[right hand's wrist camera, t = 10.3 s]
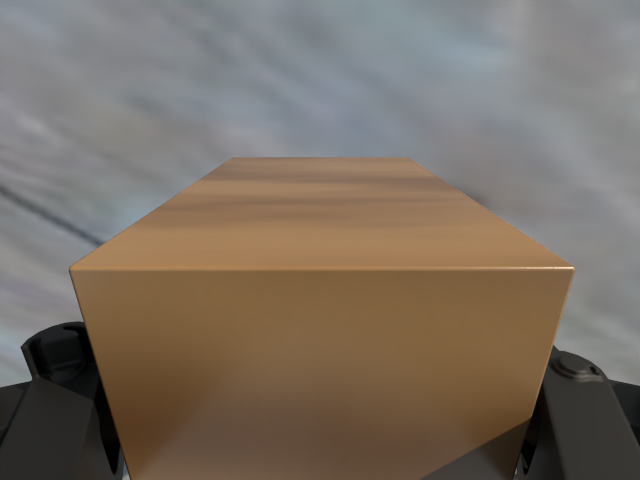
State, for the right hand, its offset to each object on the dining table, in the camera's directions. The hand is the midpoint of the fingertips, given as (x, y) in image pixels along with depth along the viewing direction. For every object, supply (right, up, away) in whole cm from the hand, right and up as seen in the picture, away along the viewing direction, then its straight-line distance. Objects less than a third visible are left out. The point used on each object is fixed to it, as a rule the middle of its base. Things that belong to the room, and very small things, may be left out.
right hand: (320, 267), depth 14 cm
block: (0, +1, +2) cm, 3 cm away
